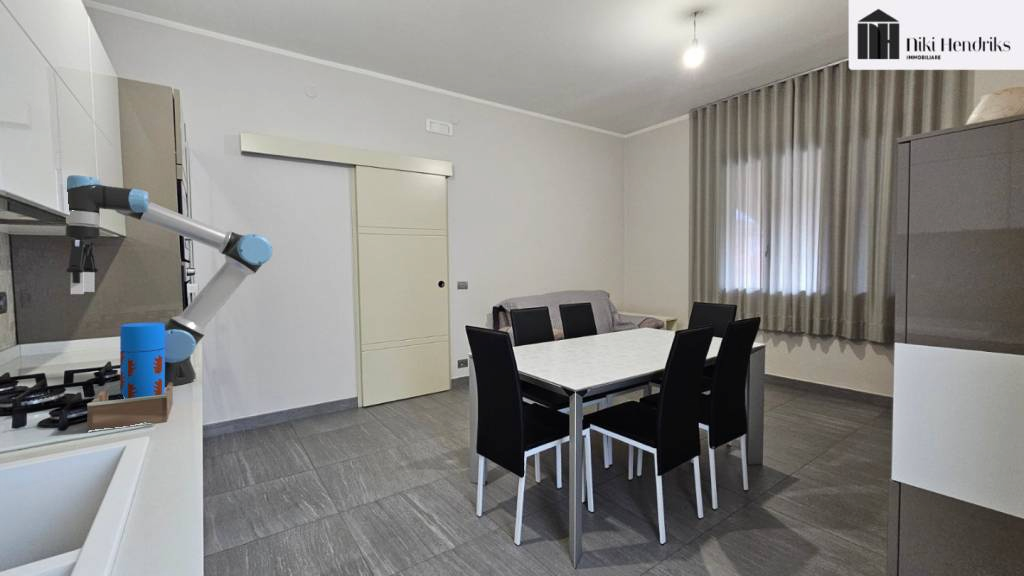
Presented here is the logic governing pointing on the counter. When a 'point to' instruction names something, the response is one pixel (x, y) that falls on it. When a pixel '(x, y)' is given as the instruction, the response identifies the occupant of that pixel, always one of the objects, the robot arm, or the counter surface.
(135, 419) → the wooden frame
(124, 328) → the thermos
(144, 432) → the counter surface
